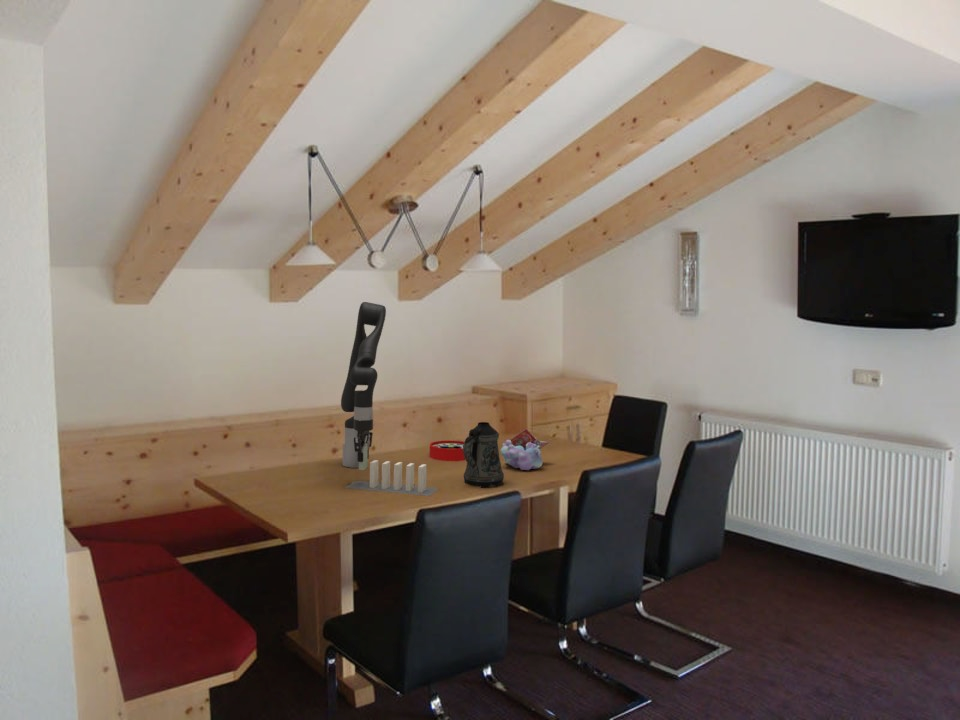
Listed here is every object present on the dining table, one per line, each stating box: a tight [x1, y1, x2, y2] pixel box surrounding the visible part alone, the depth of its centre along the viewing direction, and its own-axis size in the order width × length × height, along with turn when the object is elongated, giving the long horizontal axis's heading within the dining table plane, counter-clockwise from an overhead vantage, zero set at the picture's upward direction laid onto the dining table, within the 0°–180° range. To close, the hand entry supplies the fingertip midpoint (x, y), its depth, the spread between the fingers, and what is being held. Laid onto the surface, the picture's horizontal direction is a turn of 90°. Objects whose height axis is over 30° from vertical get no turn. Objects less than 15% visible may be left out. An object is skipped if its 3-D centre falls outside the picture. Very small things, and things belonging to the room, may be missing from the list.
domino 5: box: [405, 462, 415, 491], centre depth 318 cm, size 2×5×10 cm, turn 165°
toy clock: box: [428, 439, 466, 462], centre depth 383 cm, size 20×6×20 cm
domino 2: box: [369, 459, 380, 488], centre depth 322 cm, size 2×5×10 cm, turn 165°
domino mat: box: [344, 480, 439, 497], centre depth 321 cm, size 35×12×1 cm, turn 75°
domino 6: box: [417, 463, 427, 493], centre depth 317 cm, size 2×5×10 cm, turn 165°
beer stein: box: [463, 421, 505, 489], centre depth 332 cm, size 16×19×25 cm
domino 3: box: [381, 460, 391, 489], centre depth 321 cm, size 2×5×10 cm, turn 165°
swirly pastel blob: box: [499, 429, 550, 471], centre depth 365 cm, size 20×22×18 cm
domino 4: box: [393, 461, 403, 490], centre depth 319 cm, size 2×5×10 cm, turn 165°
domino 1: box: [358, 443, 369, 471], centre depth 322 cm, size 2×5×10 cm, turn 166°
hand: (363, 460), depth 323 cm, fingers closed on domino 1, 5 cm apart
